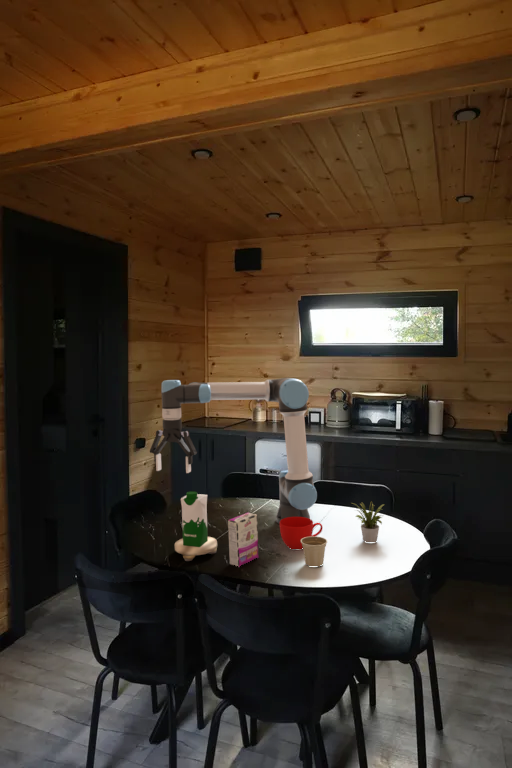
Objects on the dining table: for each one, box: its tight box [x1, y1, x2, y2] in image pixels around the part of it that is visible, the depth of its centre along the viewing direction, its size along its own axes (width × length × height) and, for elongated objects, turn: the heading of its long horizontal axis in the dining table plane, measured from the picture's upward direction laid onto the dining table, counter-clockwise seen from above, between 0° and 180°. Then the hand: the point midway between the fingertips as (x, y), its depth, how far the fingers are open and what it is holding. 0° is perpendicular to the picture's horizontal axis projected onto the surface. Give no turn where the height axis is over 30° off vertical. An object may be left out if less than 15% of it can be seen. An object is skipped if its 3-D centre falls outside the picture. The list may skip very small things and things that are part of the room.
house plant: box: [351, 501, 386, 543], centre depth 207 cm, size 14×14×16 cm
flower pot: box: [301, 535, 328, 567], centre depth 186 cm, size 9×9×9 cm
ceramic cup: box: [279, 517, 323, 550], centre depth 203 cm, size 13×17×10 cm
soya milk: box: [180, 490, 209, 547], centre depth 198 cm, size 9×9×20 cm
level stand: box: [174, 536, 218, 562], centre depth 199 cm, size 16×16×4 cm
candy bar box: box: [227, 512, 260, 568], centre depth 190 cm, size 11×5×16 cm, turn 139°
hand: (173, 471), depth 211 cm, fingers open, 13 cm apart
